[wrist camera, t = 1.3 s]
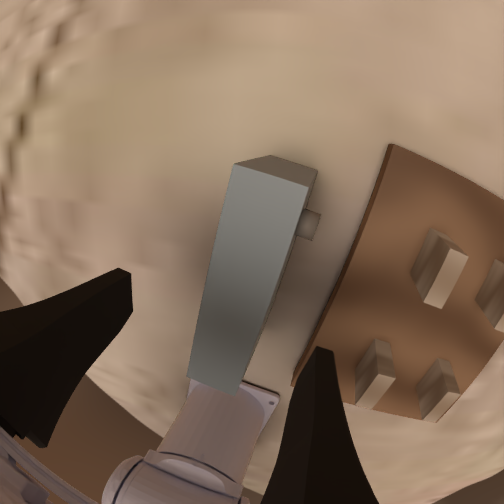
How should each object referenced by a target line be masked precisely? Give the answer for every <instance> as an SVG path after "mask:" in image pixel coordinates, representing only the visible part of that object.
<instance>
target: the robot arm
mask: <svg viewBox="0 0 504 504" xmlns="http://www.w3.org/2000/svg"><path fill="white" fill-rule="evenodd" d="M132 312H133V303H132V283H131V273H129V272H127V271H125V270H122V269H120V268H117V269H115V270H112V271H110V272H107V273H105V274H103V275H101V276H99V277H96V278H94V279H92V280H90V281H88V282H85V283H83V284H81V285H79V286H76V287H74V288H72V289H70V290H67V291H65V292H62V293H60V294H57V295H55V296H53V297H50V298H48V299H45V300H42V301H39V302H36V303H33V304H30V305H27V306H23V307H20V308H16V309H11V310H7V311H3V312H0V504H53V503H52V502H50V501H49V500H47V498H48V496H49V492H48V491H47V490H46V489H44V488H43V487H42V486H41V485H40V484H39V483H38V482H37V481H35V480H34V479H33V478H32V477H30V476H29V475H28V474H26V473H25V472H24V471H22V470H21V469H19V468H18V467H17V466H16V461H17V462H18V463H19V464H20V465H21V466H22V467H23V468H25V469H26V470H27V471H28V472H29V473H30V474H32V475H33V476H34V477H35V478H37V480H39V481H40V482H41V483H42V484H44V485H45V486H46V487H47V488H49V489H50V490H51V491H53V492H54V493H55V494H57V495H58V496H59V497H61V498H62V499H63V500H65V501H66V502H68V503H69V504H98V503H97V502H95V501H93V500H91V499H90V498H89V497H87V496H85V495H84V494H82V493H81V492H79V491H78V490H76V489H75V488H73V487H72V486H70V485H69V484H67V483H66V482H65V481H64V480H62V479H61V478H60V477H58V476H57V475H56V474H54V473H53V472H51V471H50V470H49V469H48V468H46V467H45V466H44V465H43V464H41V463H40V462H39V461H38V460H37V459H35V458H34V457H33V456H32V455H31V454H29V453H28V452H27V451H26V450H25V449H24V448H23V447H21V446H20V445H19V444H18V443H17V442H16V441H15V440H14V439H13V437H14V436H15V435H17V436H19V437H20V438H21V439H24V438H25V436H26V437H27V438H28V439H30V440H31V441H32V442H33V443H34V444H35V445H36V446H38V447H39V448H45V447H47V446H48V443H49V440H50V438H51V435H52V433H53V431H54V428H55V426H56V424H57V422H58V419H59V417H60V415H61V413H62V411H63V409H64V407H65V405H66V404H67V402H68V400H69V399H70V397H71V395H72V393H73V392H74V390H75V388H76V386H77V385H78V384H79V382H80V380H81V379H82V377H83V376H84V374H85V373H86V372H87V370H88V369H89V368H90V367H91V365H92V364H93V363H94V362H95V361H96V359H97V358H98V357H99V356H100V355H101V353H102V352H103V351H104V350H105V349H106V348H107V346H108V345H109V344H110V343H111V342H112V340H113V339H114V338H115V337H116V336H117V334H118V333H119V332H120V331H121V329H122V328H123V326H124V325H125V323H126V322H127V320H128V319H129V317H130V315H131V314H132ZM279 399H280V397H279V395H277V394H275V393H272V392H269V391H266V390H264V389H261V388H258V387H255V386H252V385H250V384H247V383H244V382H242V381H241V384H240V386H239V388H238V391H237V393H236V395H235V396H232V395H229V394H227V393H224V392H222V391H219V390H217V389H214V388H212V387H210V386H207V385H205V384H203V383H200V382H198V381H196V380H193V379H191V380H190V385H189V390H188V395H187V400H186V403H185V404H184V406H183V408H182V409H181V411H180V413H179V414H178V416H177V418H176V419H175V421H174V423H173V424H172V426H171V427H170V429H169V431H168V432H167V434H166V436H165V437H164V439H163V441H162V442H161V444H160V446H159V447H158V449H157V451H153V450H151V449H150V450H149V451H148V453H147V454H146V456H145V458H143V457H141V456H134V457H132V458H129V459H126V460H124V461H123V462H122V463H121V464H120V465H119V466H118V467H117V468H116V469H115V471H114V472H113V473H112V475H111V477H110V478H109V480H108V482H107V484H106V486H105V489H104V492H103V495H102V504H250V503H249V499H248V498H245V497H240V495H241V492H242V490H243V487H244V486H243V485H241V484H242V481H243V479H244V476H245V473H246V470H247V467H248V465H249V462H250V459H251V456H252V453H253V450H254V447H255V444H256V441H257V438H258V437H259V435H260V433H261V432H262V430H263V428H264V427H265V425H266V423H267V421H268V420H269V418H270V416H271V415H272V413H273V411H274V409H275V408H276V406H277V404H278V402H279ZM271 401H273V402H271ZM239 498H240V499H239ZM238 500H239V501H238ZM261 504H379V502H378V501H377V499H376V497H375V495H374V493H373V491H372V488H371V486H370V484H369V482H368V480H367V478H366V475H365V473H364V471H363V468H362V466H361V463H360V461H359V458H358V455H357V452H356V450H355V447H354V444H353V440H352V437H351V434H350V430H349V427H348V423H347V419H346V415H345V411H344V407H343V402H342V398H341V393H340V388H339V382H338V377H337V371H336V364H335V356H334V352H333V351H332V350H328V349H325V348H322V347H319V346H316V347H315V349H314V351H313V353H312V354H311V356H310V358H309V359H308V361H307V363H306V364H305V366H304V368H303V369H302V371H301V373H300V374H299V376H298V378H297V381H296V384H295V387H294V390H293V393H292V396H291V400H290V403H289V408H288V413H287V418H286V422H285V427H284V432H283V436H282V441H281V446H280V450H279V454H278V458H277V461H276V465H275V467H274V470H273V473H272V476H271V478H270V481H269V484H268V486H267V489H266V491H265V494H264V496H263V499H262V501H261Z"/></svg>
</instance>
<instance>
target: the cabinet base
mask: <svg viewBox="0 0 504 504" xmlns="http://www.w3.org/2000/svg"><path fill="white" fill-rule="evenodd" d="M503 340H504V200H502V199H501V198H499V197H497V196H496V195H494V194H492V193H491V192H489V191H487V190H486V189H484V188H482V187H480V186H479V185H477V184H475V183H473V182H471V181H470V180H468V179H466V178H464V177H462V176H460V175H458V174H457V173H455V172H453V171H451V170H449V169H447V168H445V167H443V166H441V165H439V164H437V163H435V162H433V161H430V160H428V159H426V158H424V157H422V156H420V155H418V154H415V153H413V152H411V151H409V150H406V149H404V148H402V147H399V146H397V145H395V144H389V146H388V149H387V152H386V155H385V158H384V161H383V164H382V167H381V170H380V173H379V176H378V179H377V182H376V185H375V188H374V190H373V193H372V196H371V199H370V201H369V204H368V207H367V210H366V212H365V215H364V218H363V220H362V223H361V225H360V228H359V231H358V233H357V236H356V238H355V241H354V243H353V246H352V248H351V251H350V253H349V255H348V258H347V260H346V263H345V265H344V267H343V270H342V272H341V274H340V277H339V279H338V281H337V284H336V286H335V288H334V290H333V293H332V295H331V297H330V299H329V302H328V304H327V306H326V308H325V310H324V312H323V315H322V317H321V319H320V321H319V323H318V325H317V327H316V329H315V331H314V333H313V336H312V338H311V340H310V342H309V344H308V346H307V348H306V350H305V352H304V354H303V356H302V358H301V360H300V362H299V363H298V365H297V367H296V369H295V371H294V373H293V377H292V382H291V386H292V387H295V384H296V381H297V378H298V376H299V374H300V373H301V371H302V369H303V368H304V366H305V364H306V363H307V361H308V359H309V358H310V356H311V354H312V353H313V351H314V349H315V347H316V346H319V347H322V348H325V349H328V350H332V351H333V352H334V356H335V364H336V371H337V377H338V382H339V388H340V393H341V398H342V402H345V403H349V404H353V405H355V406H359V407H363V408H367V409H372V410H377V411H381V412H385V413H390V414H394V415H399V416H404V417H408V418H413V419H419V420H422V421H427V422H433V423H436V422H437V421H438V420H439V419H440V418H441V417H442V416H443V415H444V414H445V413H446V412H447V411H448V410H449V409H450V408H451V407H452V405H453V404H454V403H455V402H456V401H457V400H458V399H459V398H460V396H461V395H462V394H463V393H464V392H465V390H466V389H467V388H468V387H469V386H470V384H471V383H472V382H473V381H474V380H475V378H476V377H477V376H478V374H479V373H480V372H481V371H482V369H483V368H484V367H485V365H486V364H487V363H488V361H489V360H490V358H491V357H492V356H493V354H494V353H495V351H496V350H497V349H498V347H499V346H500V344H501V343H502V341H503Z"/></svg>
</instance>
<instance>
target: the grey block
mask: <svg viewBox="0 0 504 504" xmlns="http://www.w3.org/2000/svg"><path fill="white" fill-rule="evenodd" d="M317 172H318V170H315V169H312V168H309V167H306V166H303V165H300V164H297V163H293V162H290V161H287V160H284V159H281V158H277V157H274V156H271V155H269V156H265V157H260V158H256V159H251V160H247V161H243V162H239V163H235V164H233V168H232V172H231V176H230V180H229V184H228V188H227V192H226V196H225V200H224V204H223V208H222V212H221V217H220V221H219V225H218V229H217V233H216V238H215V242H214V246H213V251H212V255H211V260H210V264H209V269H208V273H207V278H206V282H205V287H204V292H203V296H202V301H201V306H200V311H199V315H198V320H197V325H196V330H195V335H194V340H193V345H192V350H191V356H190V361H189V366H188V371H187V377H189V378H191V379H193V380H196V381H198V382H200V383H203V384H205V385H207V386H210V387H212V388H214V389H217V390H219V391H222V392H224V393H227V394H229V395H232V396H235V395H236V393H237V391H238V388H239V386H240V384H241V381H242V379H243V377H244V374H245V372H246V370H247V367H248V365H249V363H250V360H251V358H252V356H253V353H254V351H255V348H256V346H257V344H258V341H259V339H260V336H261V334H262V331H263V329H264V326H265V323H266V321H267V318H268V315H269V313H270V310H271V307H272V304H273V302H274V299H275V296H276V293H277V290H278V288H279V285H280V282H281V279H282V276H283V274H284V271H285V268H286V265H287V262H288V259H289V256H290V253H291V251H292V248H293V245H294V242H295V239H296V236H300V237H303V238H306V239H308V240H311V241H312V239H313V237H314V234H315V231H316V229H317V226H318V223H319V219H320V216H321V214H318V213H315V212H312V211H310V210H307V209H306V206H307V203H308V200H309V197H310V194H311V191H312V188H313V184H314V181H315V178H316V175H317Z"/></svg>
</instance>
